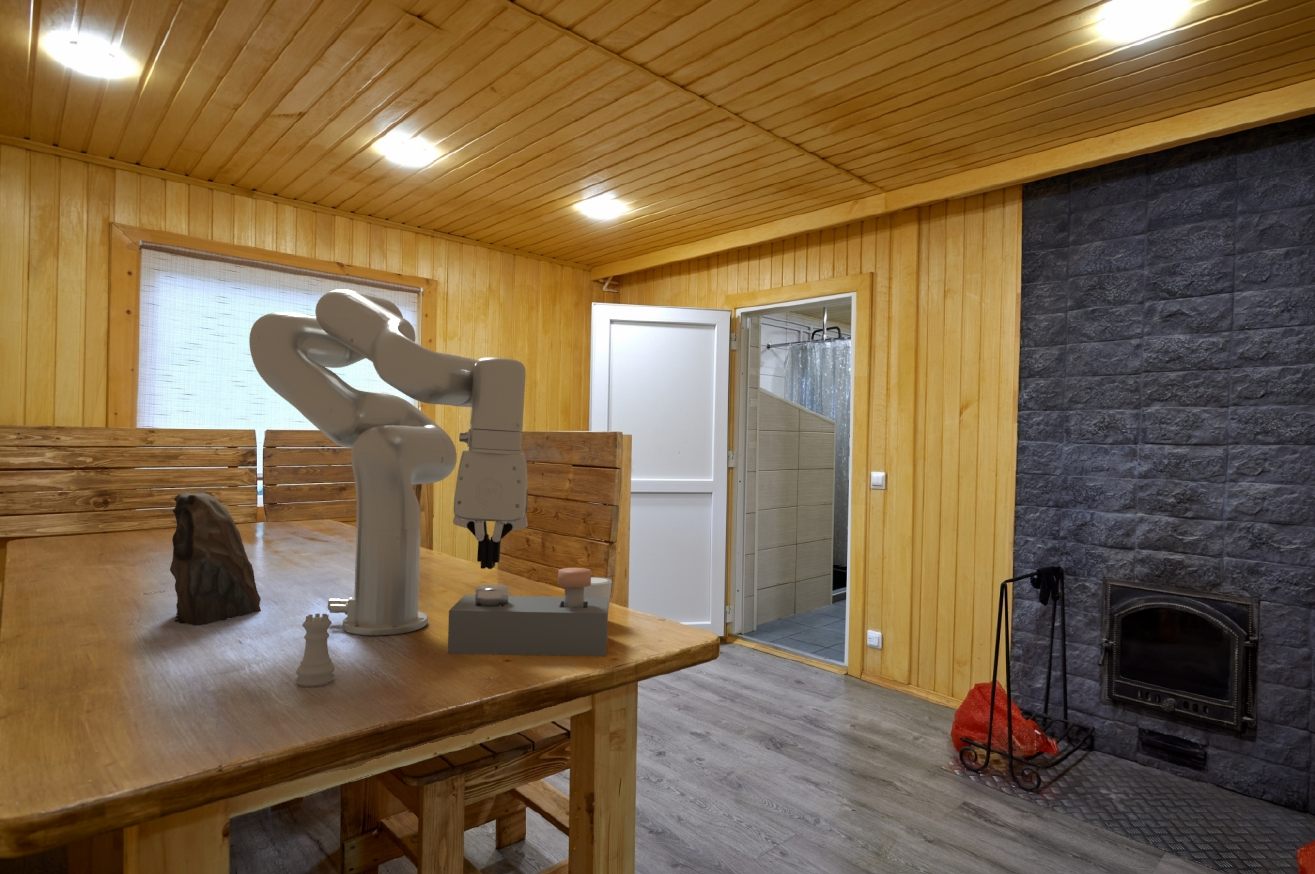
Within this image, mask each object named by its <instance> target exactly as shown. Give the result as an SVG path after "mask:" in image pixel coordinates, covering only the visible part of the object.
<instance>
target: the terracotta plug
mask: <svg viewBox="0 0 1315 874" xmlns="http://www.w3.org/2000/svg"><path fill="white" fill-rule="evenodd" d="M591 577H592V570H591V569H590V568H584V567H564V568H560V569H558V575H557V578H558V579H557V585H558V586H560V587H564V597H565V599H564V608H583V602H584V587H587V586H590V585H591Z"/></svg>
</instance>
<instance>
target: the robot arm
mask: <svg viewBox="0 0 1315 874" xmlns="http://www.w3.org/2000/svg"><path fill="white" fill-rule="evenodd" d="M314 312H315V316H313V315H308V314H303V313H298V312H291V311H290V312H288V311H280V312H279V311H277V312H270V313H267V314H265V315H262V316H260V317H259V318H258V319H257V320H255V321H254V322H253V325H252V327H251V328H250V332H249V337H248V339H249V350H250V351H249V352H250V356H251V359H252V363H253V365H254V367H255V369H256V371H257V374H259V376H260V377H261V379H262V380H263V381H264V382H265V384H266V385H267V386H269V388H271V389H272V390H273V391H274V392H275V393H276V394H277V395H279V396H280V398H282V399H283V400H284V401H286V402H287V403H288V404H290V405H291V406H292V407H294V408H295V409H296V410H298V412H299V413H300V414H301V415H302V416H303V417H304V418H305V419H307V420H308V422H310V423H311V424H312V425H313V426H314V427H315V428H316V429H318V430H319V431H320V432H321V433H322V434H323V435H324V436H326V437H327V439H329V440H330V441H331V442H333V443H334V444H336V445H338V446H340V447H342V448H348V449H351V454H350V455H351V456H350V457H351V467H352V473H353V478H354V483H355V484H354V485H355V494H356V497H355V498H356V524H355V525H356V531H355V532H356V541H355V565H354V567H355V569H354V595H353V596H351V597H349V598H347V599H345V598H344V599H343V598H329V599H328V602H327V611H329V613H330V614H341V613H343V614H344V615H346V617H345V618H344V619H342V629H343V630H344V631H345V632H347V633H351V634H353V635H361V636H390V635H397V634H398V635H400V634H406V633H410V632H414V631H417V630H420V629H422V628H424V627H425V626H427V625H428V622H429V620H428V619H429V616H428V614H427V613H425V612H423V611H420V610H419V593H420V592H419V589H420V587H419V586H420V564H421V563H420V562H421V560H420V559H421V557H420V555H421V554H420V553H421V521H422V518H421V517H422V515H421V513H422V512H421V506H420V503H419V500H418V498H417V495H416V492H415V490H414V488H413V485H423V484H424V485H427V484H434V483H438V482H440V481H443V480H445V479H447V478H448V477H449V476H450V475H451V474H452V473H453V471H454V470H455V467H456V465H457V461H458V459H457V458H458V456H457V454H458V453H457V449H456V446H455V443H454V442H453V440H452V438H451V436H450V435H449V434H448V433H447V432H446V431H445V430H444V429H443V428H442V427H441V426H439V424H437V423H436V422H434V420H432V419H431V418H429V417H428V416H427V415H426V414H424V413H423V412H422V411H421V410H420V409H418V407H417V406H415V405H414V404H412V403H410V401H408V400H406V399H404V398H402V397H400V396H397V395H394V394H389V393H381V392H380V393H379V392H371V391H364V390H359V389H356V388H355V387H353V386H352V385H350V384H348V383H347V382H346V381H345V380H343V379H342V378H341V377H340V376H339V375H338V374H337V373H335V372H334V371H332V370H331V369H335V368H336V369H337V368H338V369H339V368H340V369H341V368H344V367H345V368H346V367H348V366H351V365H353V364H357V362H360V361H362V360H365V359H367V360H369V361H370V362H371V363H372V365H373V368H374V369H375V371H376V374H377V375H378V377H379V378H380V379H381V380H382V381H384V383H386V384H388V385H389V386H391V387H392V388H393V389H396V390H397V391H398V392H400V393H402V394H403V395H406V396H407V397H409V398H410V399H413V400H414V401H418V402H420V403H424V404H427V405H428V404H429V405H430V404H431V405H441V406H444V405H445V406H453V407H460V408H461V407H462V408H471V409H470V422H469V423H470V425H469V429H468V431H466V432H460V433H459V437H458V439H459V440H458V441H459V442H461V443H465V444H466V445H467V448H468V449H467V450H466V449H465V450H462V453H461V456H460V461H459V465H458V469H457V477H456V480H455V481H456V482H455V489H454V498H453V514H454V517H453V520H452V523H453V524H454V525H455V526H458V527H461V528H464V529H465V528H466V529H467V530H469V531H470V533H471V534H472V536H474V537H475V540H477V541H478V542H477V543H478V544H477V556H476V559H477V562H480V569H481V570H482V569H488V570H492V569H494V568H495V566H496V563H497V564H498V563H499V562H500V558H501V543H502V542H501V541H502V539H503V538H504V537H506V535H508V534H509V533H510V532H513V531H518V530H524V529H526V528H527V527H528V525H529V523H528V518H527V511H528V497H529V494H528V492H529V491H528V490H529V489H528V487H529V484H528V479H529V478H528V466H527V458H526V457H527V456H526V453H523V452H522V442H523V427H524V426H523V424H524V407H525V392H526V391H525V390H526V368H525V365H524V364H523V363H522V362H521V361H519V360H515V359H512V358H506V357H505V358H502V357H482V358H479V359H475V358H470V357H469V358H468V357H464V356H460V355H456V354H449V353H442V352H439V351H438V352H437V351H434V350H431V349H428V348H427V347H424V346H422V345H421V344H419V343H417V342H416V331H415V328H414V326H413V325H412V324H411V322H410V321H409V320H407V319H406V318H404V316H403V313H402V311H401V310H400V308H399V307H398V306H397V305H396V304H395V303H393V302H392V301H390V300H388V299H386V298H383V297H378V296H375V295H371V294H368V293H364V292H360V291H356V290H351V289H342V288H340V289H339V288H338V289H334V290H330V291H328V292H326V293H325V294H323V295H322V296H321V297H320V298H319V299H318V301H317V303H316V305H315V310H314ZM329 368H331V369H329ZM487 522H494V527H493V532H492V535H491V537H490V534H489V533H488V525H487V524H488V523H487Z"/></svg>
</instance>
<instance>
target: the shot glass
mask: <svg viewBox="0 0 1315 874" xmlns="http://www.w3.org/2000/svg"><path fill="white" fill-rule="evenodd" d="M612 583H613V579H610V578H608V577H603V576H591V585H590V586H587V587H584V597H598V598H608V612H609V610H610V609H609V608H610V602H611V592H612V585H613V584H612Z"/></svg>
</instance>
